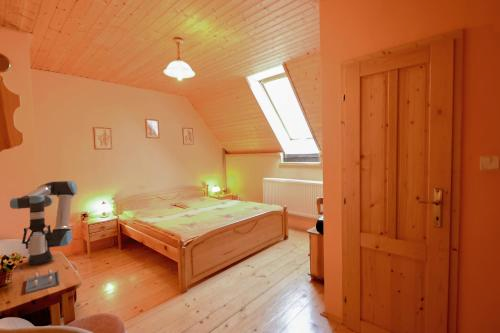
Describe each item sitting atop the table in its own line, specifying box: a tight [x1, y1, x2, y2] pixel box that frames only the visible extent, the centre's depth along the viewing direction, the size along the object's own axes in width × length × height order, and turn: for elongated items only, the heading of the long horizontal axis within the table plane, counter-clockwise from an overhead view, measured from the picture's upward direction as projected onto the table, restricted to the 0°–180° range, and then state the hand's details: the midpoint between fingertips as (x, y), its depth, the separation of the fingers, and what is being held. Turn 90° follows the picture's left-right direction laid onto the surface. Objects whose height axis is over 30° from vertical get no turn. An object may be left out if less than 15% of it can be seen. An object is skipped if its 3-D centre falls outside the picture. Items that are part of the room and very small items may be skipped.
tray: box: [24, 269, 60, 295], centre depth 159 cm, size 22×16×5 cm
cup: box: [29, 234, 46, 256], centre depth 164 cm, size 8×8×12 cm
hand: (37, 251), depth 164 cm, fingers closed on cup, 8 cm apart
